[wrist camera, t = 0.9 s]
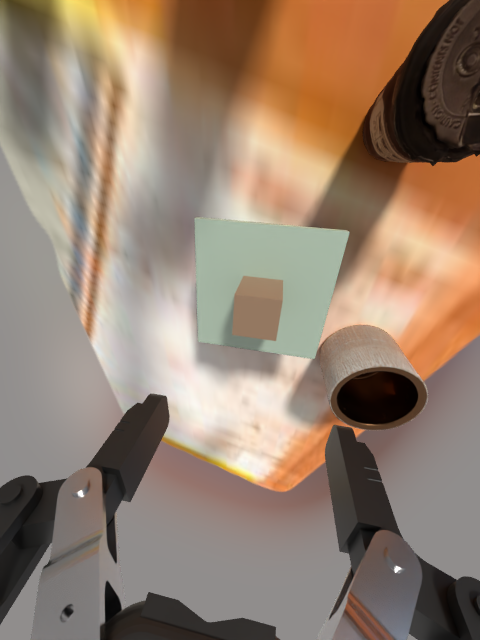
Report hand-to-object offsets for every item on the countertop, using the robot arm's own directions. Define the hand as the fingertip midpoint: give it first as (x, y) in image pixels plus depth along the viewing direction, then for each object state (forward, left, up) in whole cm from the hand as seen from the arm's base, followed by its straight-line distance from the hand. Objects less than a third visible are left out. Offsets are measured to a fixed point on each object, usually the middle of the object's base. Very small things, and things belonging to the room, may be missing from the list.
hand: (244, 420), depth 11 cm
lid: (0, -1, -16) cm, 16 cm away
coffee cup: (-16, +10, -25) cm, 31 cm away
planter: (+11, +15, -25) cm, 31 cm away
